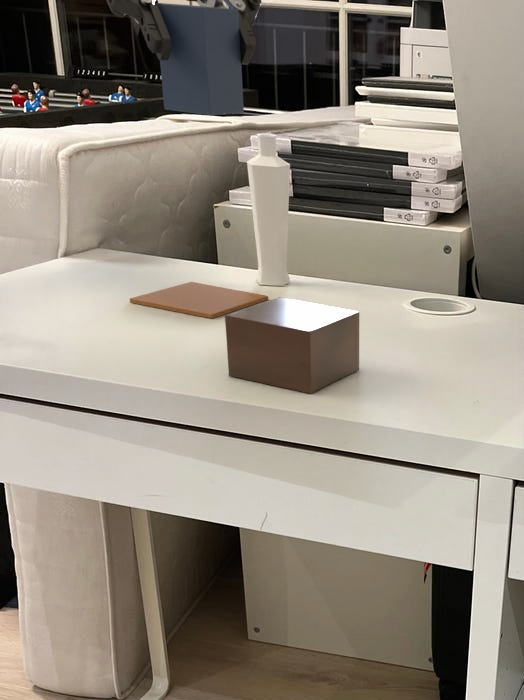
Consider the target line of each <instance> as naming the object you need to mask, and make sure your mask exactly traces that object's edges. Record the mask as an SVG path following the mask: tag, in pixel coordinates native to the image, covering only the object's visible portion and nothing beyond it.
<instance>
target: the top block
mask: <svg viewBox="0 0 524 700" xmlns="http://www.w3.org/2000/svg"><path fill="white" fill-rule="evenodd" d="M154 5H158V7H159V10H160V12H161V15H162V17H163V20H164V22H165V25H166V28H167V30H168V33H169V35H170V38H171V41H172V48H171V52H170V56H169V59H168V60H159V64H160V73H161V84H162V86H161V87H162V97H163V107H164V110H168V111H174V112H183V113H190V114H191V113H192V114H199V115H206V116H217V115H232V114H243V113H245V112H244V111H245V110H244V109H245V108H244V92H243V91H244V90H243V73H242V64H241V51H240V32H239V13H238V9H229V8H227V7H226V8H216V7H205V6H200V5H193V4H192V5H191V4H180V3H165V2H164V3H163V2H154Z"/></svg>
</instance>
